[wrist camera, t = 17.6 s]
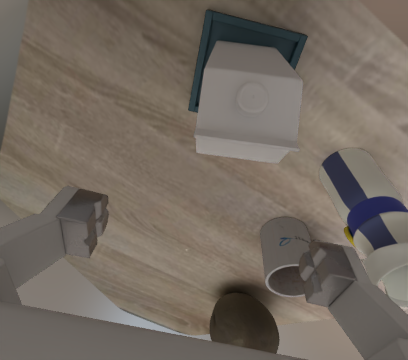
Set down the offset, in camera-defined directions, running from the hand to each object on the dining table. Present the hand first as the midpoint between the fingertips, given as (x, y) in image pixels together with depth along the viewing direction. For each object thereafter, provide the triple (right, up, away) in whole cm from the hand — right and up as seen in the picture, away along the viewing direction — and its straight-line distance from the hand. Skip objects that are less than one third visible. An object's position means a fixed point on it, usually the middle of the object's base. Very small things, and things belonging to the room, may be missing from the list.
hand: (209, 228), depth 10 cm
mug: (+16, -9, +39) cm, 43 cm away
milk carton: (+5, +15, +23) cm, 28 cm away
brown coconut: (+9, -26, +51) cm, 58 cm away
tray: (+5, +15, +23) cm, 28 cm away
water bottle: (+22, +3, +29) cm, 37 cm away
